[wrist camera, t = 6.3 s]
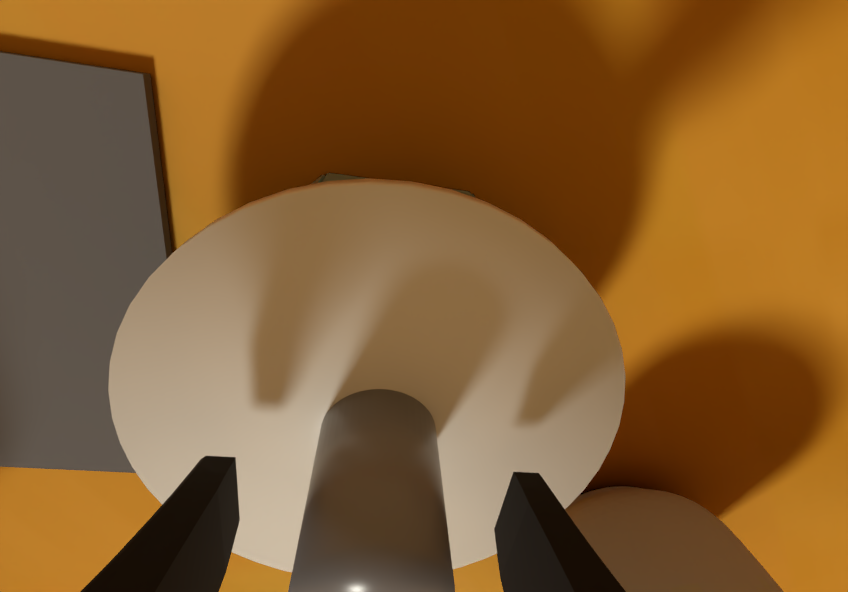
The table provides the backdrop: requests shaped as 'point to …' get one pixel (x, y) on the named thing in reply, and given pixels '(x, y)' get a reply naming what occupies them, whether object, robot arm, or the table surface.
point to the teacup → (665, 543)
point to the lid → (368, 377)
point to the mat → (71, 251)
